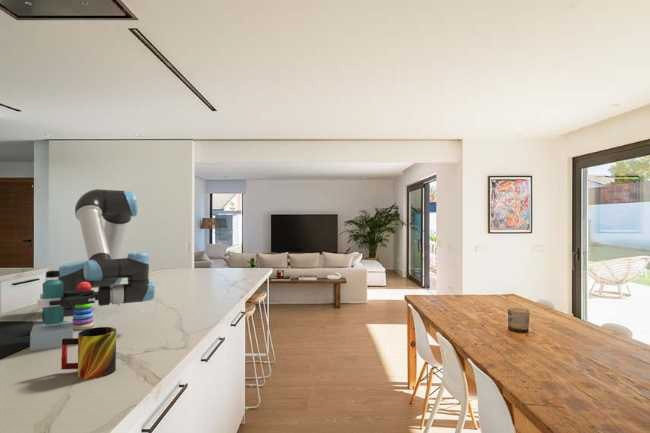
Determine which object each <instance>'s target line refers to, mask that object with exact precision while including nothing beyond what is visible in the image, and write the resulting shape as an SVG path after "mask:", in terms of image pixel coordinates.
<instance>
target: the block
mask: <svg viewBox="0 0 650 433" xmlns="http://www.w3.org/2000/svg"><path fill="white" fill-rule="evenodd" d="M73 333H74V329H73V321H72V320H67V321H63V322H61V323H58V324H52V325H45V324H43V323H42V324H33V326H32V328H31V331H30V336H29V339H30V340H29V352H36V351H43V350H50V349H57V348H62V339H64V338H74V337H73V336H74V334H73ZM70 346H71V347H72V346H73V345H67V347H70Z"/></svg>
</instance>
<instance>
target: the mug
mask: <svg viewBox="0 0 650 433" xmlns="http://www.w3.org/2000/svg"><path fill="white" fill-rule="evenodd" d="M77 335H78V336H77V337H73V338H64V339H62V347H61V358H60V359H61V368H60V369H61V370H62V371H63V370H77V377H78V378H79V379H83V380H93V379H94V378H95V379H101V378H104V377H107V376H110V375H112V374H114V373H115V372H116V371H117V370H116V369H117V363H116V362H117V353H116V352H117V329H116V328H115V327H113V326H112V327H111V326H101V327H91V328H88V329H83V330H81V331H80V332H78V334H77ZM67 345H72V346H73V345H77V362H68V346H67ZM100 377H101V378H100Z"/></svg>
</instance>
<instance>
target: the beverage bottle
mask: <svg viewBox="0 0 650 433" xmlns="http://www.w3.org/2000/svg"><path fill="white" fill-rule="evenodd" d="M59 276H60V272H59V271H58V270H48V271H46V273H45V278H51V279H49V280H45V281H44V282H43V283H42V294H43V299H53V298H61V297H63V282H62V281H61V280H58V279H52V278H58V277H59ZM41 312H42V313H41V316H42V319H41V321H42V324H45V325H52V324H58V323H61V322H64V319H65V316H64V307H63V306H55V307H44V308H42V311H41Z"/></svg>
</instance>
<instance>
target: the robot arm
mask: <svg viewBox="0 0 650 433" xmlns="http://www.w3.org/2000/svg"><path fill="white" fill-rule="evenodd" d="M137 201H138V200H137V196H136V194H135V193H134V192H133V191H132V190H131V191H130V190H114V189H99V188H98V189H97V188H96V189H91V190H89V191H87V192H85V193H84V194H82V196H80V197H79V199H77V201H76V204H75V207H74V215H75V218H76V220H78V222H79V225H80V227H81V232H82V233H81V234H82V237H83V242H84V247H85V250H86V255H87V259H88V260H86V261H83V260H82V261H75V262H69V263H66V264H65V263H64V264H62V265H59V268H58V270H57V271H59V272H60V276H59V277H57V280H61V281H62V282H63V297H61V298H53V299H43V293H40V294H39V299H37V304H36V305H37V309H40V308H41V309H43V308H44V307H55V306H63V307H64V317H65V316H66V317H68V316H69V317H70V316H73V315H74V310H75V309H76V308H75V305H81V304H88V303H91V304H95V303H96V301H98V302H97V304H98V306H99V307H102V306H110V304H111V305H117V306H120V305H121V304H130V303H131V304H133V303H143V302H150V301H152V300H154V299H155V296H156V295H155V293H156V290H155V288H156V287H155V283H154V282H153V281H150V279H149V275H150V274H149V273H150V269H149V268H150V260H149V259H150V258H149V254H148V253H147V252H142V251H140V252H139V251H137V252H130V253H128V254H127V257H124V258H120V254H121V249H122V245H123V240H124V236H125V230H126V226H127V224H129V222H131V220H132V217H133V218H134V217H136V216H137V215H138V211H139V210H138V208H139V206H138V202H137ZM102 218H103V220H104V221H105V222H104V225H103V221H102ZM126 278H127V283H121V282H122V281H123V279H126ZM81 282H88V283H90V284H91V290H87V291H77V286H78V284H80V283H81ZM95 288H96V289H98V290H97V291H95V290H94V289H95Z"/></svg>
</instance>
